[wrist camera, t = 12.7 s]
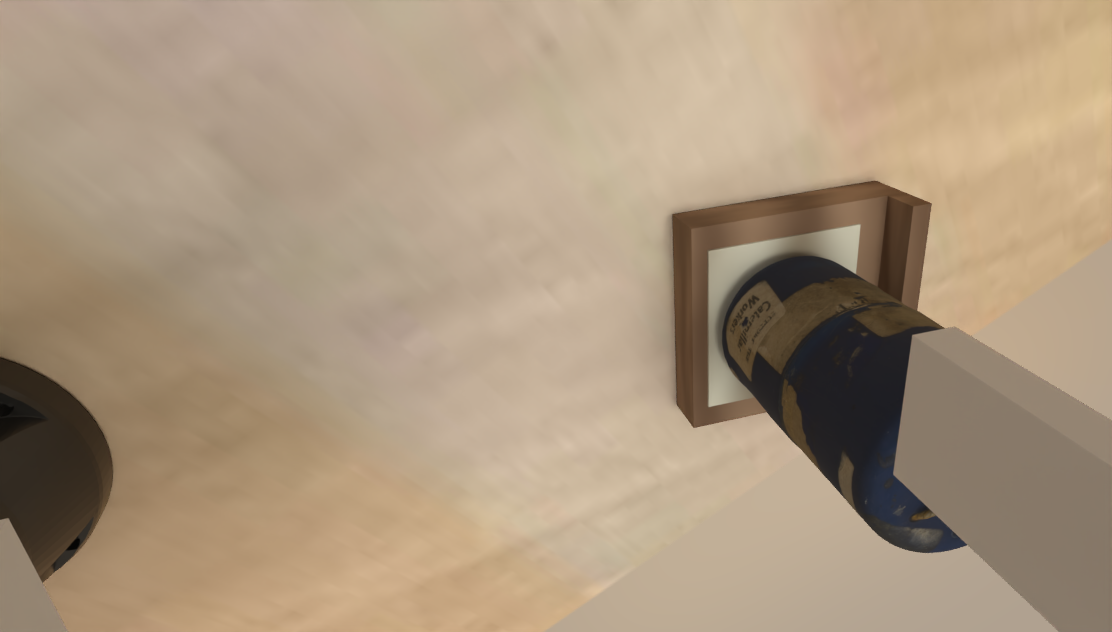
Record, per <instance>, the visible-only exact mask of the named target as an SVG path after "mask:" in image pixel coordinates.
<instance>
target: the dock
mask: <svg viewBox="0 0 1112 632" xmlns="http://www.w3.org/2000/svg"><path fill="white" fill-rule="evenodd" d="M931 205H932V203H929V202H927V201H924V200H922V199H919V198H917V197H914V196H912V195H910V194H907V193H905V192H902V191H900V190H897V189H895V188H892V187H890V186H887V185H885V184H882V183H880V182H877V181H871V182H865V183H859V184H853V185H847V186H841V187H835V188H829V189H823V190H817V191H811V192H805V193H799V194H793V195H787V196H781V197H775V198H768V199H762V200H756V201H750V202H744V203H738V204H732V205H726V206H720V207H714V208H708V209H702V210H696V211H690V212H684V213H678V214H673V251H674V294H675V337H676V381H677V405H678V407H679V408H680V410H681V411H682V412H683V414H684V415H685V417H686V418H687V419H688V421H689V422H690V423H691V425H692V426H693V428H696V427H700V426H705V425H709V424H714V423H719V422H723V421H728V420H733V419H737V418H742V417H746V416H751V415H756V414H760V413H765V412H766V410H765V409H764V408H763V407H762V406H761V404H760V403H759V402H758V401H757V399H756V398H755V397H754V396H753V395H752V393H751V392H750V391H749V390H748V389H747V388H746V387H745V386H744V385H743V384H742V383H741V382H740V381H739V380H738V379H737V378H736V377H735V376H734V374H733V373H732V371H731V370H730V368H729V366H728V364H727V361H726V359H725V356H724V352H723V346H722V329H723V323H724V319H725V316H726V313H727V310H728V308H729V306H730V304H731V302H732V300H733V299H734V297H735V295H736V294H737V293H738V291H739V290H740V288H741V287H742V286H743V285H744V284H745V283H746V282H747V281H748V280H749V279H750V278H751V277H752V276H754V275H755V274H756V273H757V272H759V271H760V270H762V269H763V268H765V267H767V266H769V265H770V264H773V263H775V262H778V261H781V260H783V259H787V258H791V257H797V256H816V257H822V258H825V259H829V260H832V261H834V262H836V263H838V264H840V265H842V266H843V267H845V268H847V269H848V270H850V271H852V272H853V273H855V274H856V275H858V276H860V277H861V278H863V279H864V280H866V281H868V282H869V283H871V284H874V285H875V286H877V287H879V288H880V289H881V290H882V291H884V292H886V293H887V294H889V295H890V296H892V297H893V298H895V299H897V300H899V301H900V302H902V303H903V304H905V305H906V306H908V307H910V308H912V309H914V310H917V308H918V300H919V293H920V286H921V278H922V271H923V263H924V256H925V249H926V241H927V234H928V227H929V219H930V212H931Z"/></svg>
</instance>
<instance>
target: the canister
mask: <svg viewBox="0 0 1112 632" xmlns="http://www.w3.org/2000/svg"><path fill="white" fill-rule="evenodd" d="M940 329H945V328H944V327H942V326H940V325H939V324H937V323H936V322H934V321H933V320H931V319H930V318H928V317H926V316H925V315H923V314H922V313H920V312H918V311H917V310H914V309H912V308H910V307H908V306H906V305H905V304H903V303H902V302H900V301H899V300H897V299H895V298H893V297H892V296H890V295H889V294H887V293H886V292H884V291H882V290H881V289H880V288H879V287H877V286H875V285H874V284H871V283H869V282H868V281H866V280H864V279H863V278H861V277H860V276H858V275H856V274H855V273H853V272H852V271H850V270H848V269H847V268H845V267H843V266H842V265H840V264H838V263H836V262H834V261H832V260H829V259H825V258H822V257H816V256H797V257H791V258H787V259H783V260H781V261H778V262H775V263H773V264H770V265H769V266H767V267H765V268H763V269H762V270H760V271H759V272H757V273H756V274H755V275H754V276H752V277H751V278H750V279H749V280H748V281H747V282H746V283H745V284H744V285H743V286H742V287H741V288H740V290H739V291H738V293H737V294H736V295H735V297H734V299H733V300H732V302H731V304H730V306H729V308H728V310H727V313H726V316H725V319H724V323H723V329H722V346H723V352H724V356H725V359H726V361H727V364H728V366H729V368H730V370H731V371H732V373H733V374H734V376H735V377H736V378H737V379H738V380H739V381H740V382H741V383H742V384H743V385H744V386H745V387H746V388H747V389H748V390H749V391H750V392H751V393H752V395H753V396H754V397H755V398H756V399H757V401H758V402H759V403H760V404H761V406H762V407H763V408H764V409H765V410H766V412H767V413H768V414H769V415H770V417H771V418H772V419H773V420H774V421H775V422H776V424H777V425H778V426H779V427H780V428H781V429H782V430H783V431H784V433H785V434H786V435H787V436H788V437H789V438H790V439H791V440H792V441H793V442H794V443H795V444H796V445H797V446H798V447H799V448H800V449H801V450H802V451H803V452H804V453H805V454H806V455H807V457H808V458H809V459H810V460H811V461H812V462H813V463H814V464H815V466H816V467H817V468H818V469H819V470H820V471H821V472H822V474H823V475H824V476H825V477H826V478H827V479H828V480H829V481H830V482H831V483H832V485H833V486H834V487H835V488H836V489H837V490H838V491H839V492H840V494H841V495H842V496H843V497H844V498H845V499H846V500H847V501H848V503H849V504H850V505H851V506H852V507H853V509H854V510H856V512H857V513H858V514H859V515H860V516H861V517H862V518H863V519H864V521H865V522H866V523H867V524H868V525H869V526H870V527H871V528H872V530H874V531H875V532H876V533H877V534H878V535H879V536H880V537H882V538H883V539H884V540H886V541H888V542H889V543H891V544H893V545H895V546H897V547H900V548H902V549H905V550H909V551H915V552H922V553H933V552H944V551H949V550H953V549H957V548H960V547H963V546H966V545H967V544H966V543H965V542H964V541H963V540H962V539H961V538H960V537H959V536H957V535H956V534H955V533H954V532H953V531H952V530H951V529H950V528H949V527H948V526H947V525H946V524H945V523H944V522H943V521H942V520H941V519H940V518H938V517H937V516H936V515H935V514H934V513H933V512H932V511H931V510H930V509H929V508H928V507H927V506H926V505H925V504H924V503H923V502H922V501H921V500H920V499H918V498H917V497H916V496H915V495H914V494H913V493H912V492H911V491H910V490H909V489H908V488H907V487H906V486H905V485H904V484H903V483H902V482H901V481H899V480H898V479H897V478H896V477H895V476H894V475H893V471H894V464H895V457H896V450H897V442H898V435H899V428H900V421H901V414H902V406H903V399H904V392H905V385H906V377H907V370H908V363H909V356H910V349H911V341H912V335H915V334H920V333H925V332H930V331H935V330H940Z"/></svg>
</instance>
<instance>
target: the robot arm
mask: <svg viewBox="0 0 1112 632" xmlns="http://www.w3.org/2000/svg"><path fill="white" fill-rule="evenodd" d="M893 475H894V476H895V477H896V478H897V479H898V480H899V481H901V482H902V483H903V484H904V485H905V486H906V487H907V488H908V489H909V490H910V491H911V492H912V493H913V494H914V495H915V496H916V497H917V498H918V499H920V500H921V501H922V502H923V503H924V504H925V505H926V506H927V507H928V508H929V509H930V510H931V511H932V512H933V513H934V514H935V515H936V516H937V517H938V518H940V519H941V520H942V521H943V522H944V523H945V524H946V525H947V526H948V527H949V528H950V529H951V530H952V531H953V532H954V533H955V534H956V535H957V536H959V537H960V538H961V539H962V540H963V541H964V542H965V543H966V544H967V545H968V546H969V547H970V548H971V549H972V550H974V552H975V553H977V554H978V555H979V556H980V557H981V558H982V559H983V560H984V561H985V562H986V563H987V564H988V565H989V566H990V567H991V568H992V569H993V570H995V572H996V573H998V574H999V575H1000V576H1001V577H1002V578H1003V579H1004V580H1005V581H1006V582H1007V583H1008V584H1009V585H1010V586H1011V587H1012V588H1013V589H1015V590H1016V591H1017V592H1018V593H1019V594H1020V595H1021V596H1022V597H1023V598H1024V599H1025V600H1026V601H1027V602H1028V603H1029V604H1030V605H1031V606H1032V607H1033V608H1034V609H1036V610H1037V611H1038V612H1039V613H1040V614H1041V615H1042V616H1043V617H1044V618H1045V619H1046V620H1047V621H1048V622H1049V623H1050V624H1051V625H1052V626H1053V627H1055V628H1056V629H1057V630H1058V631H1059V632H1112V420H1110V419H1109V418H1107V417H1105V416H1104V415H1102V414H1100V413H1099V412H1097V411H1095V410H1094V409H1092V408H1090V407H1089V406H1087V405H1085V404H1084V403H1082V402H1080V401H1079V400H1077V399H1075V398H1074V397H1072V396H1070V395H1069V394H1067V393H1065V392H1064V391H1062V390H1060V389H1059V388H1057V387H1055V386H1054V385H1052V384H1050V383H1049V382H1047V381H1045V380H1043V379H1042V378H1040V377H1038V376H1037V375H1035V374H1033V373H1032V372H1030V371H1028V370H1027V369H1025V368H1023V367H1022V366H1020V365H1018V364H1017V363H1015V362H1013V361H1012V360H1010V359H1008V358H1007V357H1005V356H1003V355H1001V354H1000V353H998V352H996V351H995V350H993V349H992V348H990V347H988V346H987V345H985V344H983V343H981V342H980V341H978V340H977V339H975V338H973V337H972V336H970V335H968V334H966V333H965V332H963V331H961V330H960V329H958V328H956V327H950V328H945V329H940V330H935V331H930V332H925V333H920V334H915V335H912V341H911V349H910V356H909V363H908V370H907V377H906V385H905V392H904V399H903V406H902V414H901V421H900V428H899V435H898V442H897V450H896V457H895V464H894V471H893ZM112 477H113V470H112V461H111V456H110V452H109V449H108V446H107V443H106V441H105V438H104V436H103V434H102V432H101V431H100V429H99V427H98V426H97V424H96V423H95V421H94V420H93V418H92V417H91V416H90V415H89V413H88V412H87V411H86V410H85V409H84V408H83V407H82V406H81V405H80V404H79V402H77V401H76V400H75V399H74V398H73V397H72V396H71V395H70V394H68V393H67V392H66V391H64V390H63V389H62V388H60V387H59V386H58V385H56V384H55V383H53V382H52V381H50V380H48V379H47V378H45V377H43V376H41V375H39V374H38V373H36V372H34V371H32V370H29V369H27V368H25V367H23V366H20V365H18V364H15V363H13V362H10V361H7V360H4V359H1V358H0V632H68V631H67V629H66V627H65V625H64V623H63V621H62V619H61V617H60V615H59V613H58V612H57V610H56V608H55V606H54V604H53V602H52V600H51V598H50V596H49V594H48V593H47V591H46V589H45V587H44V585H43V582H44V581H45V580H46V579H47V578H49V577H50V576H51V575H52V574H53V573H54V572H55V571H56V570H58V569H59V568H61V567H62V566H63V565H64V564H65V563H66V562H67V561H69V560H70V559H71V558H72V557H73V556H74V555H75V554H76V553H77V552H78V551H79V550H80V548H81V547H82V546H83V545H84V544H85V542H86V541H87V540H88V538H89V537H90V535H91V533H92V532H93V530H94V528H95V526H96V524H97V522H98V520H99V518H100V516H101V514H102V512H103V510H104V508H105V506H106V504H107V501H108V498H109V495H110V491H111V487H112Z"/></svg>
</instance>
